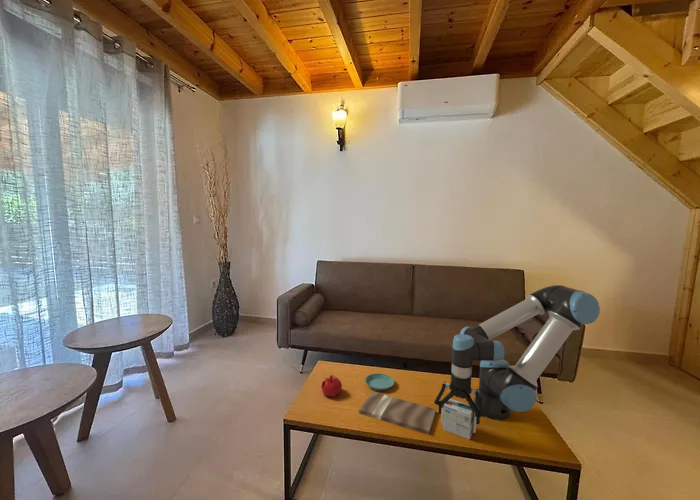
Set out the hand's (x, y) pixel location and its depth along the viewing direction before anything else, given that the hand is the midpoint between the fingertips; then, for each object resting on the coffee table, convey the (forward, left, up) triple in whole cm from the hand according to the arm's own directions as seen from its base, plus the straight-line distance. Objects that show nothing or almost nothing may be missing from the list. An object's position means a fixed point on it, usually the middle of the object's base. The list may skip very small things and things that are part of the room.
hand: (458, 426), depth 124 cm
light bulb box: (0, 0, -2) cm, 2 cm away
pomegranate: (+58, 0, -2) cm, 58 cm away
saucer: (+40, -18, -2) cm, 44 cm away
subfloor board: (+25, 0, -2) cm, 25 cm away
